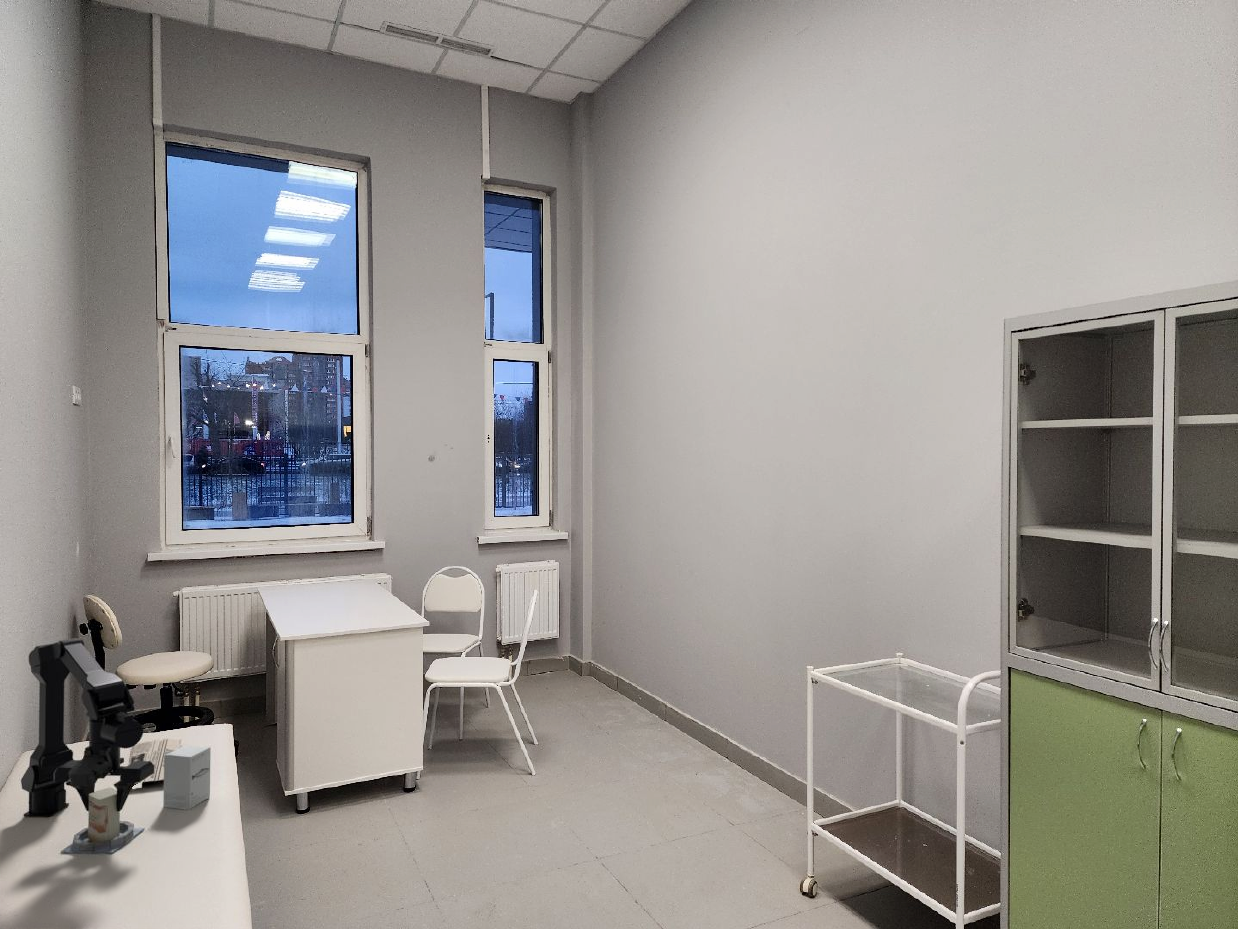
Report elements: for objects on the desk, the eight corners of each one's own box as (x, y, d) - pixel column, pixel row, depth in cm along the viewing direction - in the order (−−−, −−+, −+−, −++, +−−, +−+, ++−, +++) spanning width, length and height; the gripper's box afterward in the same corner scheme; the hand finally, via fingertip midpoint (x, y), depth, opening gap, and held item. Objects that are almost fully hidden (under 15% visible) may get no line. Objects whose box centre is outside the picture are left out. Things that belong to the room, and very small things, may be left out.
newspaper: (131, 751, 228) (132, 738, 228) (181, 744, 234) (181, 732, 234) (124, 796, 197) (124, 782, 197) (181, 787, 203) (182, 773, 203)
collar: (60, 853, 167) (60, 844, 167) (95, 829, 178) (96, 820, 178) (112, 854, 167) (112, 845, 167) (144, 830, 178) (144, 821, 178)
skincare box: (87, 840, 172) (87, 793, 172) (109, 832, 176) (109, 786, 176) (98, 846, 169) (98, 799, 169) (120, 838, 173) (120, 792, 173)
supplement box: (189, 810, 188) (189, 757, 188) (162, 807, 190) (162, 754, 190) (211, 797, 195) (211, 746, 195) (185, 795, 197) (185, 744, 197)
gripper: (34, 751, 165) (34, 827, 165) (123, 753, 164) (123, 828, 164) (72, 733, 176) (71, 804, 176) (155, 734, 175) (155, 805, 175)
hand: (104, 810), depth 173 cm, fingers closed on skincare box, 6 cm apart
